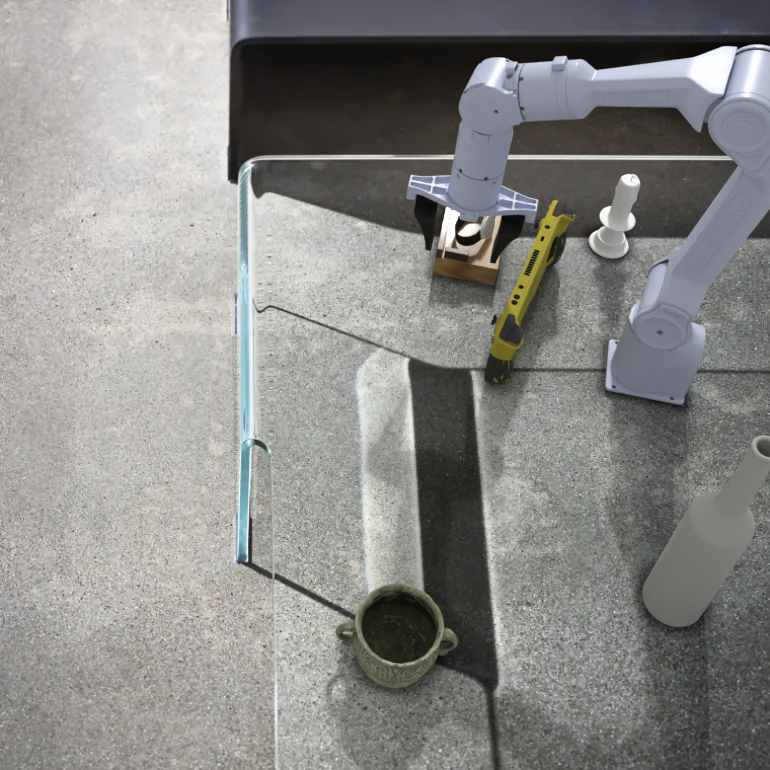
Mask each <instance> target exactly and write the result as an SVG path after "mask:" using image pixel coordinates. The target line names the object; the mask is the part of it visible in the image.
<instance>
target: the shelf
mask: <svg viewBox="0 0 770 770" xmlns="http://www.w3.org/2000/svg"><path fill="white" fill-rule="evenodd" d="M458 216H459V213H458V212H456V211H454V210H452V209H450V208H448V207H446V206H445V210H444V214H443V220H442V224H441V229H440V233H439V238H438V242H437V246H436V252H435V258H434V263H433V268H432V269H433V270H432V274H433V275H438V276H443V277H448V278H454V279H458V280H463V281H468V282H473V283H478V284H484V285H488V286H495V285H496V280H497V276H498V272H499V267H500V263H501V256H502V253H501V254H500V256H499V257H498V259H497V261H496V263H495V264H494V263H490V259H491V253H492V248H493V243H494V240H495V237H496V235H497V232H498V229H499V225H500V221H501V216H495V226H494V230H493V233H492V235H491V236H490V238H489V239H482V240H480V241H479V242H478V243H476V244H474V245H471V246H462V245H460V244H459V243H458V242H457V241H456V236H455V223H456V221H457V219H458ZM484 217H485V216H484ZM484 217H478V221H477V222H469V221H466V222H465V223H464V224H463V225H462V226H461V227H460V229H459V230H458V232H457V233H458V234H459V235H460V236H464V237H468V236H472V235H474V234H476V233H477V232H478V231H479V230H480V229H481V224H482V221H483V219H484Z"/></svg>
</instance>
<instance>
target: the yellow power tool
mask: <svg viewBox="0 0 770 770" xmlns="http://www.w3.org/2000/svg"><path fill="white" fill-rule="evenodd" d="M576 211H577V209H576V208H575V207H574V206H573V205H571V204H570V203H567V202H565V201H561V200H556V199H555V200H554V199H553V200H552V202H551V204H549V205H548V207H547V211H546V212H545V216H544V218H542V219H541V221H540V219H539V218H537V219H536V221H535V222H534V227H533V229H534V230H537V235H536V238H535V240H534V241H533V244H532V247H531V249H530V251H529V253H528V256H527V258H526V260H525V263H524V264H523V267H522V269H521V272H520V274H519V276H518V278H517V281H516V283H515V285H514V287H513V289H512V292H511V294H510V296H509V298H508V301H507V303H506V305H505V307H504V310H503V312H502V313H500V314H499V315H498V314H494V315H493V317H492V319H491V322H490V325H491V326H494V329H493V334H494V335H493V336H492V337H491V338H490V343H491V347H490V350H489V353H488V358H487V361H486V365H485V370H484V373H483V380H484V381H485V383H488V384H490V385H493V386H501V385H502V386H503V385H505V384H507V383H508V382H509V381H510V380H511V379H512V376H513V373H514V363H515V353H516V351H517V350H519V349H520V348H521V347H522V345H523V343H524V336H525V332H524V330H523V328H522V325H523V322H524V320H525V317H526V316H527V314H528V311H529V308H530V306H531V304H532V302H533V300H534V297H535V296H536V295H535V294H536V292H537V290H538V287H539V285H540V282H541V281H542V278H543V276H544V274H545V272H546V271H548V270H549V269H551V268H553V267H554V266H555V265H557V264H558V262H559V261H560V259H561V258H562V256H563V254H564V251H565V248H566V244H567V239H568V231H569V224H571V223H573V222H574V220H575V219H576Z"/></svg>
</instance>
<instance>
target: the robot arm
mask: <svg viewBox="0 0 770 770" xmlns="http://www.w3.org/2000/svg"><path fill="white" fill-rule="evenodd" d="M597 107H619V108H620V107H621V108H622V107H624V108H674V109H677V110H678V111H679V113H681V115H682V116H683V118H684V119H685V120H686V121H687V122H688V124H690V126H691V127H692V129H694V131H696V132H697V133H701V132H702V128H703V125H704V123H707V129H708V133H709V136H710V138H711V140H712V141H713V142H714V143H715V145H716V146H717V147H718V148H719V149H720V150H721V151H722V152H723V153H724V154H725V155H726V156H727V157H729V159H731V160H732V161H733V162H734V163H735V164H736V165H737V167H736V168H735V169H734V171H733V172H732V174H731V175H730V176H729V178H728V179H727V180H726V182H725V184H724V185H723V187H722V188H721V189H720V191H719V192H718V193H717V195H716V197H714V199H713V200H712V202H711V203H710V205H709V206H708V207H707V208H706V210H705V212H704V213H703V214H702V216H701V217H700V219H698V221H697V223H696V224H695V226H694V227H693V228H692V230H691V231H690V233H689V234H688V235H687V237H685V238H686V239H685V240H684V242H683V243H682V244H681V245H680V247H679V246H675V247H673V248H672V249H671V251H670V253H668V255H666V256H665V257H662V258H660V259H658V260H656V261H655V262H653V263H652V264H651V265H650V267H649V268H648V270H647V275H646V282H645V285H644V289H643V292H642V295H641V299H639V300H638V301H637V302H636V303H635V304H634V305H633V306H632V307H631V309H630V311H629V313H628V317H627V318H626V321H625V324H624V326H623V328H622V331H621V334H620V337H619V339H613V338H611V339H609V340H608V343H607V356H606V367H605V380H604V389H605V390H606V391H607V392H613V393H617V394H623V395H626V396H627V395H628V396H633V397H637V398H642V399H648V400H652V401H656V402H657V401H658V402H662V403H667V404H673V405H677V406H682V405H684V403H685V397H686V394H687V393H688V390H689V388H690V387H691V385H692V383H693V381H694V379H695V376H696V375H697V372H698V371H699V369H700V366H701V363H702V359H703V356H704V353H705V348H706V338H707V332H706V327H705V326H703V325H701V324H698V323H696V322H694V319H695V318H696V317H697V315H698V313H699V311H700V309H701V306H702V304H703V301H704V299H705V297H706V295H707V293H708V291H709V288H710V287H711V286H712V284H713V283H714V281H716V279H717V278H718V276H719V275H720V274H721V272H722V271H723V270H724V268H725V267H726V266H727V265H728V263H729V262H730V261H731V260H732V259H733V257H734V256H735V255H736V253H737V252H738V251H739V249H740V248H741V247H742V246H743V244H744V243H745V242H746V241H747V239H748V238H749V236H750V235H751V234H752V232H754V230H755V228H756V227H757V226H758V225H759V224H760V222H761V221H762V219H764V217H765V216H766V214H767V213H768V212H769V211H770V45H766V44H760V43H759V44H748V45H746V46H743V47H739V48H738V46H731V45H725V46H720V47H718V48H715V49H712V50H710V51H707V52H705V53H702V54H699V55H696V56H693V57H687V58H685V57H684V58H680V59H679V58H678V59H671V60H663V61H657V62H649V63H641V64H633V65H627V66H618V67H611V68H603V69H595V68H594V67H593V66H592V65H590V64H589V63H588V62H587V61H586V60H584V59H581V58H578V59H569V58H568V56H567V55H560V56H559V55H558V56H554V58H553V60H552V61H538V62H523V63H519V62H518V61H513V60H510V59H509V58H506V57H501V56H500V57H490V58H486V59H484V60H482V62H479V63H478V65H477V66H476V67H475V69H474V70H473V72H472V74H471V76H470V79H469V80H468V83H467V85H466V86H465V88H464V89H463V92H462V94H461V96H460V100H459V103H458V112H459V115H460V118H461V121H460V123H459V125H458V131H457V136H456V137H457V138H456V143H455V148H454V155H453V160H452V165H451V170H450V175H449V174H448V175H424V176H423V175H415V174H410V176H409V180H408V184H407V190H406V196H405V197H406V198H405V199H406V200H410V201H415V202H414V208H413V216H414V218H415V220H416V221H417V223H418V224H419V226H420V229H421V232H422V235H423V239H424V246H425V247H424V250H425V251H428V252H431V251H432V247H433V243H434V239H435V233H436V223H437V214H438V207H439V204H440V205H441V206H443V207H445V208H446V207H448V208H450V209H452V210H454V211H456V212H458V213H459V218H460V219H461V220H464V221H469V222H477V221H478V217H484V216H501V221H500V225H499V229H498V232H497V235H496V237H495V240H494V243H493V248H492V253H491V259H490V263H494V264H495V263H496V261H497V259H498V257H499V256H500V254H501V255H502V253H503V252H504V250H505V249H506V248H507V247H508V246H509V245H510V244H511V243H513V242H514V241H515V240H516V239H518V238H520V236H521V235H522V232H523V229H524V223H528V224H535V219H536V216H537V212H538V205H539V199H537V198H533V197H529V196H526V195H524V194H522V193H520V192H517V191H515V190H513V189H510V188H508V187H506V186H504V185H503V181H504V177H505V173H506V167H507V163H508V159H509V155H510V150H511V145H512V141H513V138H514V126H520V125H521V123H528V122H548V121H550V122H551V121H570V120H582V119H585V118H587V116H588V115H589V114H590V113H591V112H592V111H593V110H594V109H595V108H597ZM500 257H501V256H500Z"/></svg>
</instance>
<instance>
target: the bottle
mask: <svg viewBox="0 0 770 770" xmlns="http://www.w3.org/2000/svg"><path fill="white" fill-rule="evenodd" d="M769 472H770V436H769V435H764V434H761V435H758V436H756V437H754V438H753V440H751V444H750V447H749V449H748V451H747V452H746V454H745V455H744V457H743V459H742V460H741V462H740V464H739V465H738V467H737V468H736V471H734V473H733V475H732V476H731V478H730V479H729V481H728V482H727V483H726V485H725V486H724V487H723V488H722V490H714V491H713V490H712V491H708V492H703V493H702V494H700V495H698V496H697V497H695V498H694V499H693V501H692V502H691V503H690V505H689V507H688V508H687V509H686V511H685V513H684V514H683V516H682V518H681V520H680V522H679V523H678V525H677V527H676V528H675V530H674V532H673V533H672V535H671V537H670V538H669V540H668V542H667V543H666V545H665V547H664V548H663V550H662V552H661V553H660V555H659V557H658V559H657V560H656V562H655V564H654V565H653V567H652V569H651V571H650V573H649V574H648V576H647V578H646V579H645V581H644V584H643V586H642V590H641V591H642V593H641V594H642V600H643V604H644V606H645V608H646V610H647V611H648V612H649V613H650V615H651V616H653V617H654V619H655V620H657V621H658V622H661V623H662V624H664V625H667V626H668V627H669V626H670V627H675V628H685V627H688V626H691V625H693V624H695V623H696V622H698V621H699V619H700V618H702V617H701V616H702V615H703V613H704V612H705V611H706V609H708V607H709V605H710V604H711V602H712V601H713V599H714V598H715V596H716V594H718V592H719V591H720V589H721V587H722V585H723V584H724V582H725V581H726V579H728V577H729V575H730V573H731V572H732V570H733V569H734V567H735V565H736V564H737V562H739V560H740V558H741V556H742V555H743V554H744V552H745V551H746V549H747V548H748V546H749V545H750V543H751V542H752V540H753V538H754V535H755V532H756V523H755V517H754V515H753V511H752V510H751V509H750V506H751V504H752V502H753V500H754V498H755V496H756V494H757V492H758V490H759V489H760V487H761V485H762V484H763V482H764V481H765V480H766V478H767V476H768V474H769Z"/></svg>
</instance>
